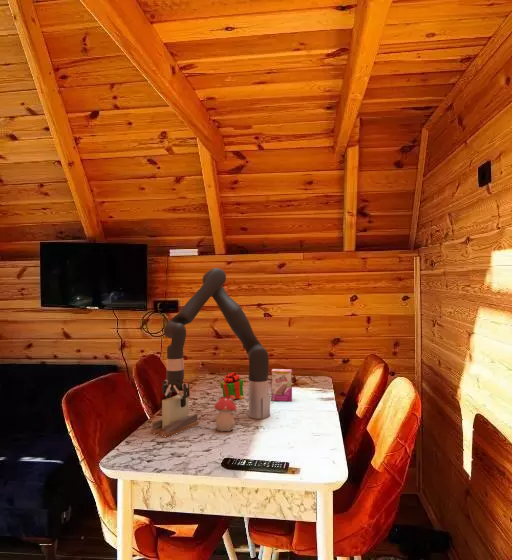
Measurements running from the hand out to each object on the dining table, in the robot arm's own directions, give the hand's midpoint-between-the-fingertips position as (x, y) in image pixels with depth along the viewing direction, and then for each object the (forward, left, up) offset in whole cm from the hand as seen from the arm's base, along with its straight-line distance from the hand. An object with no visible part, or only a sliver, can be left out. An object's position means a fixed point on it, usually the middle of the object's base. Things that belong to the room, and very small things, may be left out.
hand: (175, 405), depth 181 cm
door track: (0, 0, -10) cm, 10 cm away
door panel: (0, 0, -9) cm, 9 cm away
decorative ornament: (-19, -11, -10) cm, 24 cm away
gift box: (+6, -51, -10) cm, 52 cm away
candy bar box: (-17, -63, -10) cm, 66 cm away
